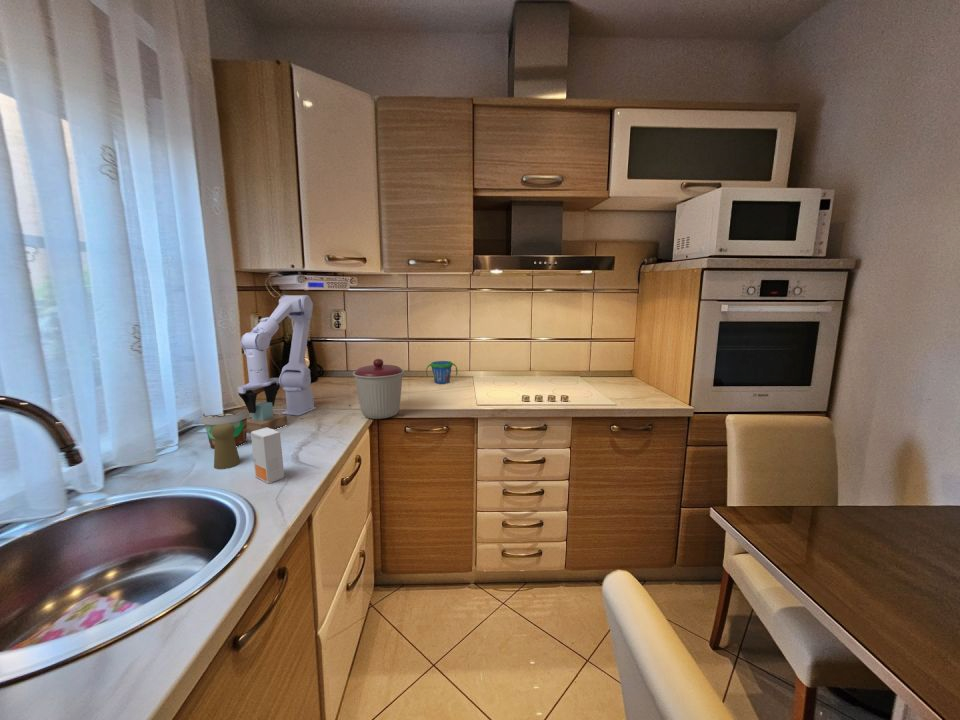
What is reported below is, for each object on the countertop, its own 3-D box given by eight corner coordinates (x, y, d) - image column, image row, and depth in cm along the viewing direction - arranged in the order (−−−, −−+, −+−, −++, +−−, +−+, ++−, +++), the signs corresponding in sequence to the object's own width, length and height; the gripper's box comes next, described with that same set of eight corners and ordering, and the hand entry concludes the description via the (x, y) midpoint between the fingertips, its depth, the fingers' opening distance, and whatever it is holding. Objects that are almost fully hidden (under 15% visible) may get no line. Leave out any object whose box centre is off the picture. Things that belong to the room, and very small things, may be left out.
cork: (211, 464, 105) (206, 424, 103) (237, 457, 109) (232, 419, 107) (216, 471, 101) (211, 430, 99) (243, 464, 105) (238, 424, 103)
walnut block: (265, 423, 139) (264, 412, 138) (287, 426, 135) (286, 415, 135) (239, 432, 130) (238, 421, 129) (262, 436, 126) (261, 424, 125)
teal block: (262, 415, 134) (261, 401, 134) (273, 416, 133) (272, 402, 132) (251, 419, 130) (250, 405, 129) (263, 420, 129) (261, 406, 128)
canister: (347, 422, 138) (343, 363, 135) (365, 407, 156) (362, 354, 152) (398, 423, 137) (395, 363, 133) (410, 408, 155) (409, 355, 151)
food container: (197, 453, 112) (192, 419, 110) (205, 445, 118) (201, 413, 116) (245, 448, 115) (242, 415, 114) (251, 441, 121) (248, 409, 120)
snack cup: (425, 385, 192) (424, 364, 191) (427, 380, 203) (427, 360, 201) (457, 385, 193) (457, 364, 191) (458, 380, 203) (457, 360, 201)
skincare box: (254, 478, 97) (249, 431, 95) (271, 471, 101) (267, 426, 99) (268, 484, 94) (263, 436, 92) (285, 477, 98) (280, 431, 95)
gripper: (248, 374, 121) (253, 417, 123) (284, 365, 135) (288, 404, 137) (230, 373, 123) (235, 414, 125) (268, 364, 137) (271, 402, 139)
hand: (261, 409), depth 131 cm, fingers open, 7 cm apart
